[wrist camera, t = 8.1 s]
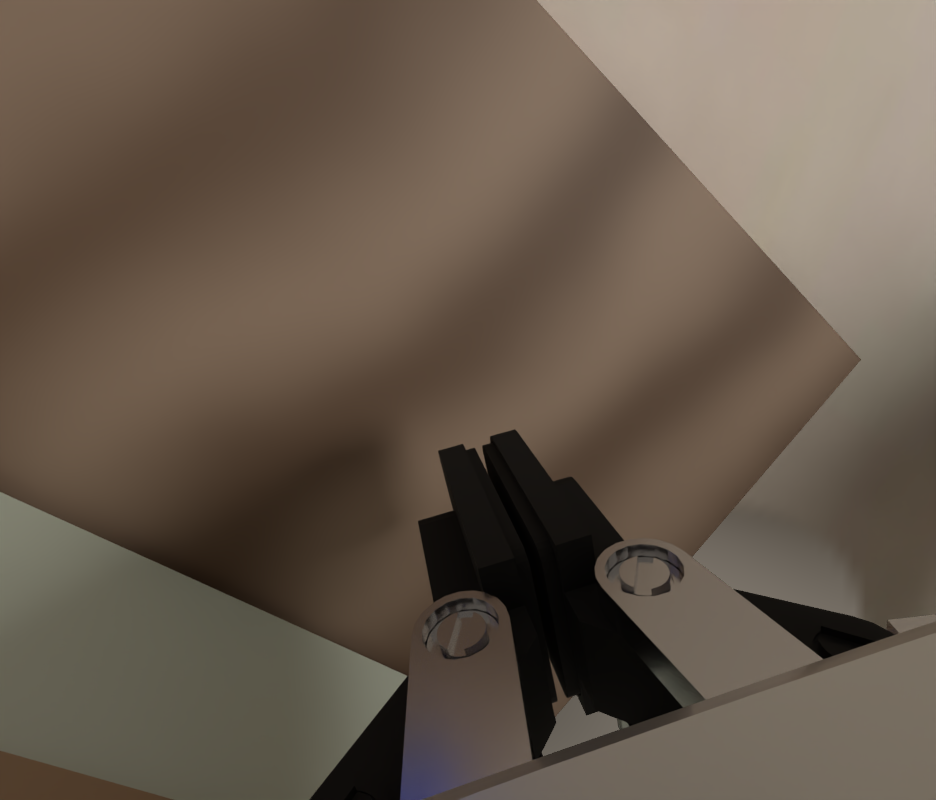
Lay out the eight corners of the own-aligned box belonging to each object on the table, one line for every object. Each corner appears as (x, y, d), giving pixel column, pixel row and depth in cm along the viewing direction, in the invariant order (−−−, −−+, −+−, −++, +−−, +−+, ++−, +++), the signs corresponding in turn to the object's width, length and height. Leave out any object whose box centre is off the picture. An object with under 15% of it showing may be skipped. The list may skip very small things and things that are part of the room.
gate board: (844, 355, 18) (861, 359, 17) (448, 820, 20) (452, 837, 20) (95, -460, 9) (80, -505, 8) (-434, 564, 11) (-472, 582, 11)
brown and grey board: (483, 704, 17) (566, 972, 11) (448, 743, 18) (511, 1027, 11) (-175, 402, 11) (-864, 660, 5) (-219, 471, 11) (-939, 808, 5)
